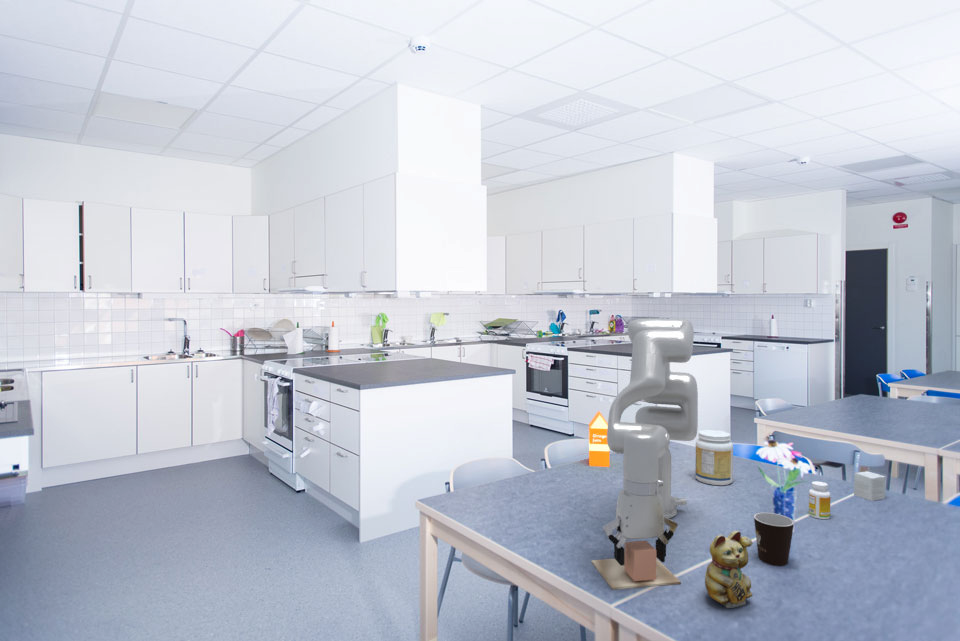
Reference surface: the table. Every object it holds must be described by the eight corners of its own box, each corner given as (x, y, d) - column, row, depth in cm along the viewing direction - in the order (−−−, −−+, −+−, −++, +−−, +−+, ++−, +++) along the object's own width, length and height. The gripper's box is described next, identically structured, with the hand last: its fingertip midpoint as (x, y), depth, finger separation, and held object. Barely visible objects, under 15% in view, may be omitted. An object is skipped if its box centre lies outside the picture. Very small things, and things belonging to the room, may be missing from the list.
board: (653, 557, 137) (653, 555, 137) (680, 583, 124) (680, 581, 124) (591, 562, 135) (591, 560, 135) (612, 589, 122) (612, 587, 122)
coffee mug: (792, 571, 130) (792, 529, 130) (751, 562, 134) (751, 521, 134) (794, 552, 140) (795, 513, 139) (756, 544, 144) (757, 506, 144)
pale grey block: (867, 492, 184) (867, 470, 183) (885, 499, 178) (886, 476, 178) (853, 495, 182) (853, 472, 181) (871, 501, 176) (872, 478, 176)
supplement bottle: (832, 516, 164) (832, 483, 163) (827, 521, 160) (828, 487, 159) (811, 511, 167) (811, 479, 167) (806, 516, 163) (807, 483, 163)
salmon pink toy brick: (645, 568, 130) (646, 540, 129) (656, 579, 124) (656, 550, 124) (624, 570, 129) (624, 541, 129) (634, 581, 124) (634, 551, 123)
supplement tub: (700, 473, 205) (700, 427, 204) (736, 479, 198) (736, 432, 197) (691, 482, 195) (691, 433, 194) (728, 488, 188) (729, 438, 187)
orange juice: (589, 466, 214) (589, 414, 214) (588, 459, 223) (588, 409, 223) (610, 466, 213) (610, 414, 213) (608, 460, 222) (608, 410, 221)
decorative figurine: (724, 614, 112) (724, 540, 112) (693, 594, 120) (693, 525, 119) (758, 604, 116) (759, 532, 116) (726, 585, 124) (727, 518, 123)
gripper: (668, 479, 131) (667, 551, 131) (597, 483, 128) (597, 556, 129) (684, 489, 124) (684, 566, 124) (610, 494, 121) (610, 572, 121)
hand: (640, 561), depth 126 cm, fingers open, 9 cm apart
